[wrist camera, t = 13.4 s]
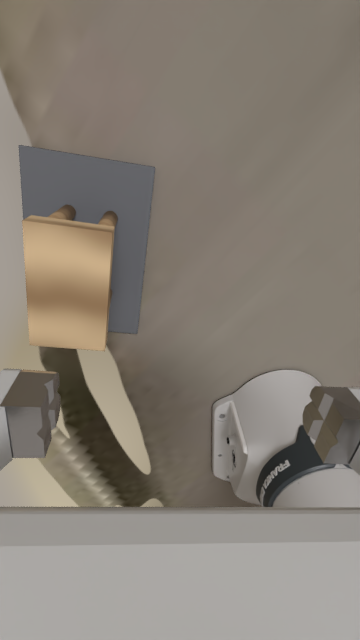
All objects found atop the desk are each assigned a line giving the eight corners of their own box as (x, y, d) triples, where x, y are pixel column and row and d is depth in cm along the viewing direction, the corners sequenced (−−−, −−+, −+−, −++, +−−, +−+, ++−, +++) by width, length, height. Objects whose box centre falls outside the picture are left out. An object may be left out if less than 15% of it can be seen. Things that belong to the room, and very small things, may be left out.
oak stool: (57, 199, 31) (22, 220, 22) (121, 209, 32) (112, 232, 23) (58, 296, 35) (29, 345, 27) (114, 301, 36) (104, 351, 27)
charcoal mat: (137, 330, 39) (137, 333, 38) (32, 321, 37) (30, 324, 37) (154, 167, 31) (155, 167, 30) (21, 145, 29) (18, 145, 28)
